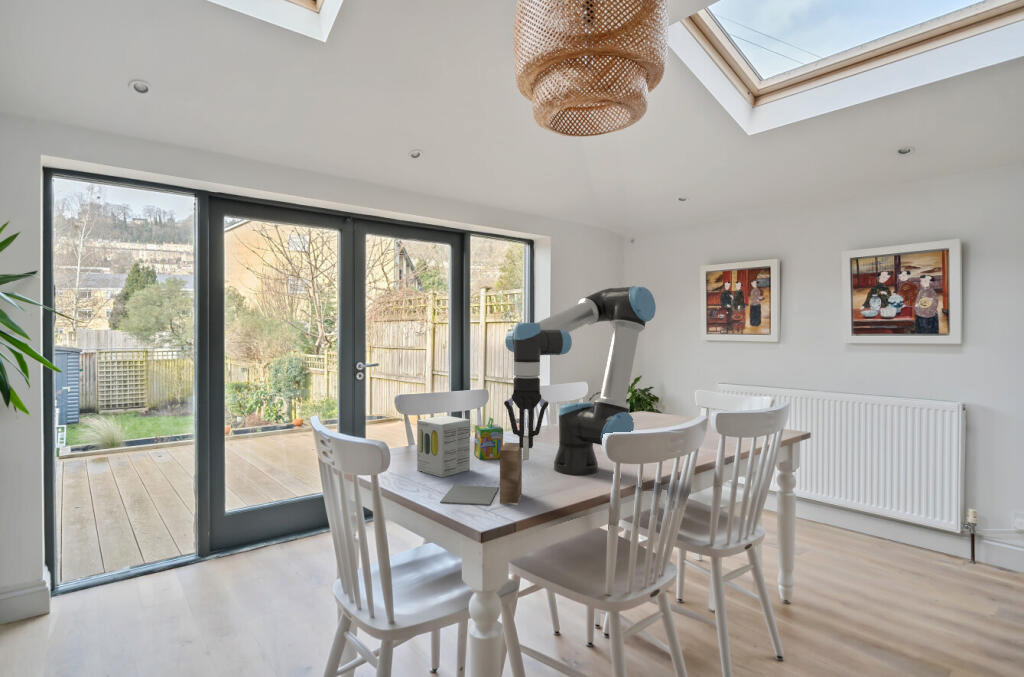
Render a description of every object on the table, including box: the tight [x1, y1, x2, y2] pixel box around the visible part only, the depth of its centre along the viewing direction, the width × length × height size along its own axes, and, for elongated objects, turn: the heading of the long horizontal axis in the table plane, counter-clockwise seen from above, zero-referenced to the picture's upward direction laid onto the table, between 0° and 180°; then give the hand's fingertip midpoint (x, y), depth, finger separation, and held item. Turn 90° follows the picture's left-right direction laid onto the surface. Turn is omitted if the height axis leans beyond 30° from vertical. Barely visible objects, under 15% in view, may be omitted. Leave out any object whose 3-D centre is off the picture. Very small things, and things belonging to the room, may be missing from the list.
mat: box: [439, 484, 500, 506], centre depth 159 cm, size 14×16×1 cm
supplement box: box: [416, 415, 471, 478], centre depth 186 cm, size 13×13×18 cm
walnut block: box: [499, 442, 523, 506], centre depth 156 cm, size 5×10×15 cm, turn 172°
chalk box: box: [473, 417, 504, 461], centre depth 205 cm, size 9×9×15 cm
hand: (526, 459), depth 155 cm, fingers closed
